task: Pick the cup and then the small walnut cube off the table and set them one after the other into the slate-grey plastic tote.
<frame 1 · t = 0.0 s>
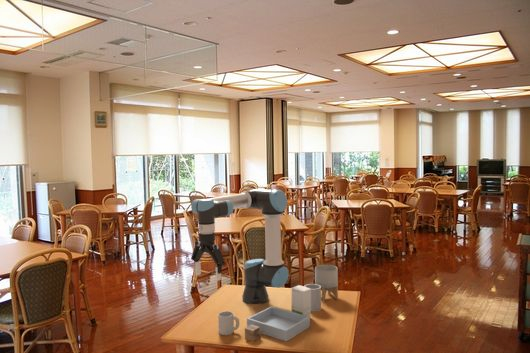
hand: (208, 277, 201), 28 cm above the table, fingers open, 13 cm apart
skincare box: (301, 317, 222), on the table
tote: (278, 327, 210), on the table
cup: (229, 332, 206), on the table
planter: (326, 298, 250), on the table
cup 2: (312, 308, 235), on the table
walnut cube: (252, 338, 200), on the table
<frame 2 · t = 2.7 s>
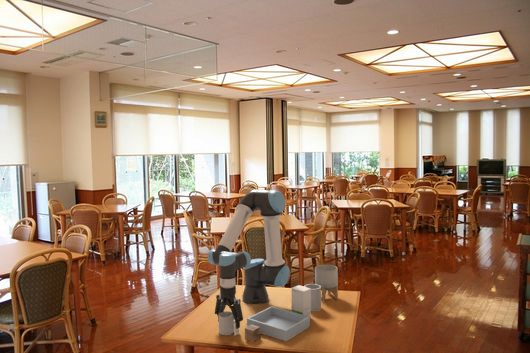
hand: (229, 331, 206), 0 cm above the table, fingers open, 9 cm apart
cup: (229, 332, 206), on the table, touching gripper
everything else where it was.
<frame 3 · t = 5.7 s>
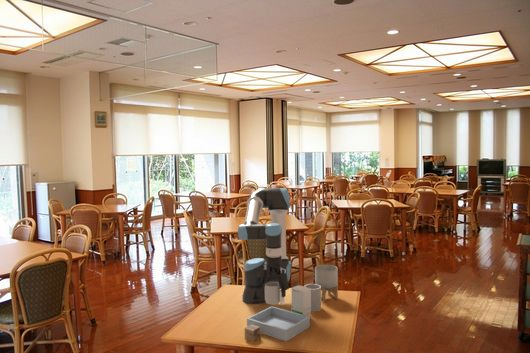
hand: (274, 301, 211), 13 cm above the table, fingers closed on cup, 8 cm apart
cup: (275, 302, 211), point 12 cm above the table, touching gripper
everything else where it was.
when the fingers open (2 cm above the table, at t = 7.9 s): cup drops 1 cm, resting on tote.
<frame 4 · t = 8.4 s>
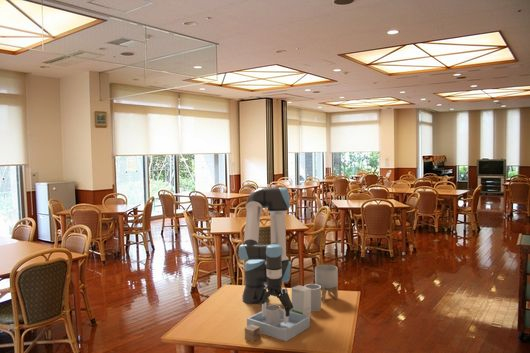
hand: (275, 319, 211), 4 cm above the table, fingers open, 13 cm apart
cup: (276, 325, 212), point 1 cm above the table, touching tote
everything else where it was.
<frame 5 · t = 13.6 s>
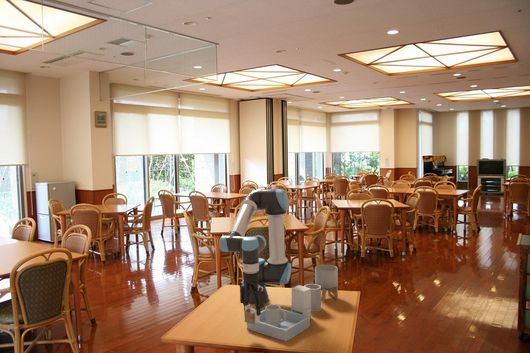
hand: (252, 320, 200), 8 cm above the table, fingers closed on walnut cube, 5 cm apart
walnut cube: (252, 321, 200), point 8 cm above the table, touching gripper
everything else where it was.
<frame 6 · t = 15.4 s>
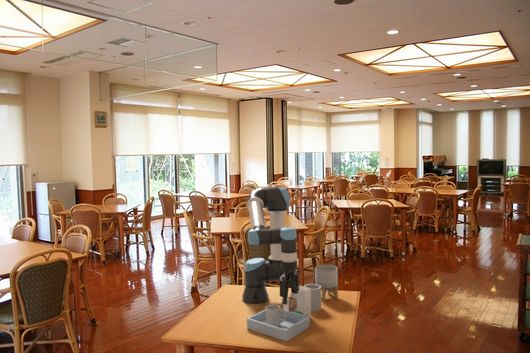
hand: (289, 308, 205), 11 cm above the table, fingers closed on walnut cube, 5 cm apart
walnut cube: (289, 309, 205), point 11 cm above the table, touching gripper
everything else where it was.
when the fingers open (1 cm above the table, at t = 17.3 s): walnut cube stays where it is, resting on tote.
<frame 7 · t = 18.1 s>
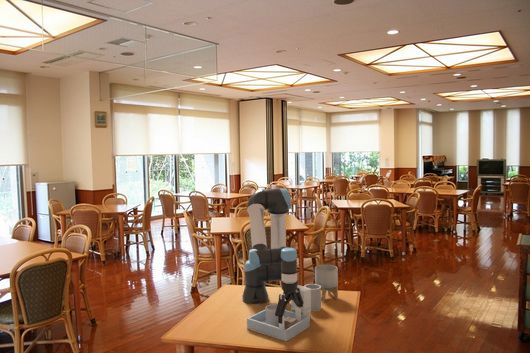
hand: (290, 324, 206), 3 cm above the table, fingers open, 13 cm apart
walnut cube: (289, 329, 206), point 1 cm above the table, touching tote
everything else where it was.
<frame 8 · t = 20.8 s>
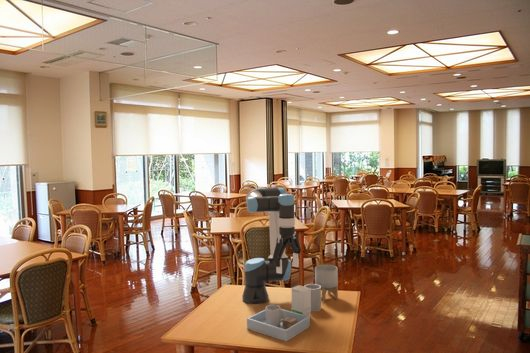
hand: (287, 269, 208), 29 cm above the table, fingers open, 13 cm apart
nothing on the table moved.
at the end: cup inside the target area on the tote (1.6 cm from its centre), point 0.6 cm above the tote's base; walnut cube inside the target area on the tote (6.8 cm from its centre), point 0.8 cm above the tote's base; the gripper is holding nothing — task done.
